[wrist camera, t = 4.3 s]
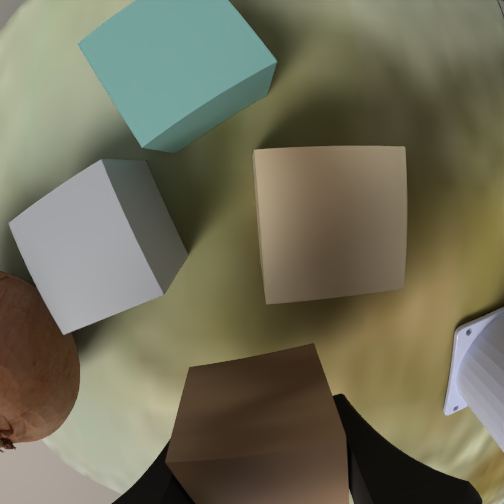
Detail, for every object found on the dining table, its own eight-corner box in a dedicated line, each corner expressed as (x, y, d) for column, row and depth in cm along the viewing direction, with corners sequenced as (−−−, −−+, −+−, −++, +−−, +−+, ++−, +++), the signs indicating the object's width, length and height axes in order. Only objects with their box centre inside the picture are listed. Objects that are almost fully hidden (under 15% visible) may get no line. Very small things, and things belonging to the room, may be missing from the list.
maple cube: (357, 151, 14) (405, 146, 9) (360, 253, 15) (403, 288, 11) (252, 156, 14) (254, 149, 9) (260, 261, 15) (266, 304, 11)
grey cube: (146, 160, 14) (101, 159, 9) (188, 255, 15) (163, 294, 10) (67, 205, 15) (8, 223, 10) (107, 290, 16) (63, 334, 11)
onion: (99, 341, 20) (101, 481, 12) (-9, 339, 17) (-31, 460, 10) (70, 224, 14) (25, 409, 7) (-59, 234, 12) (-130, 373, 4)
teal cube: (210, 19, 12) (196, -34, 7) (267, 95, 13) (277, 61, 9) (124, 75, 13) (77, 44, 8) (175, 153, 14) (141, 147, 9)
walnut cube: (313, 343, 12) (346, 436, 7) (326, 426, 13) (349, 511, 8) (189, 367, 12) (165, 462, 7) (223, 445, 13) (217, 530, 9)
